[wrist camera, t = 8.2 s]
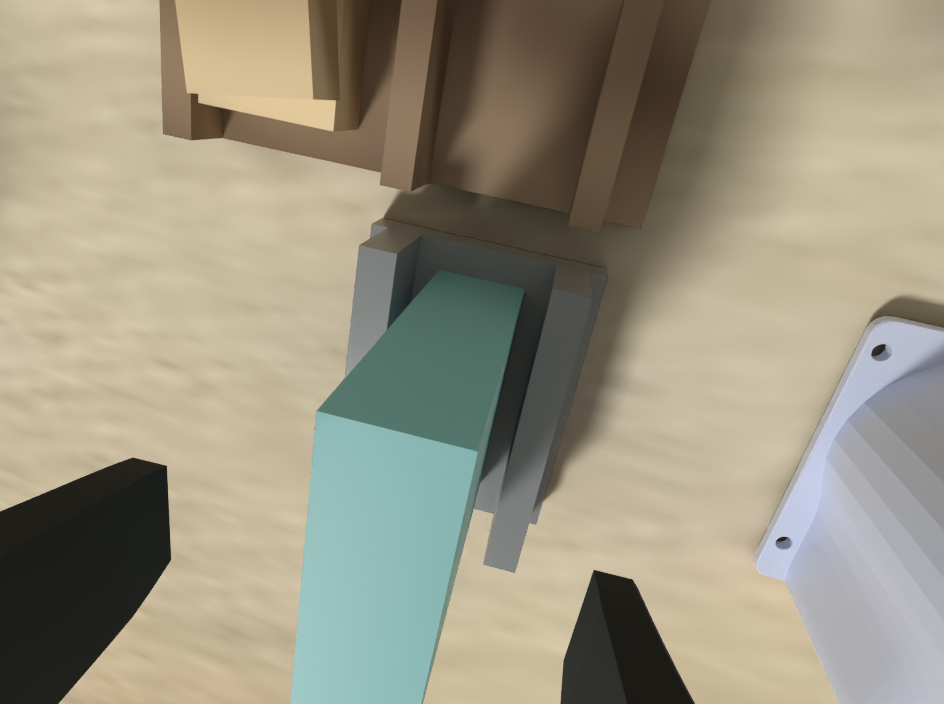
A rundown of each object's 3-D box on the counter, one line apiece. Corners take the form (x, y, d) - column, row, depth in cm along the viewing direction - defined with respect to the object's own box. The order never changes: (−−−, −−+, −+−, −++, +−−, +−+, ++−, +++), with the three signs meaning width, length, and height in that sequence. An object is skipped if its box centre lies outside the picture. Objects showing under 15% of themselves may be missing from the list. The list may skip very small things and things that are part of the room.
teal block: (480, 482, 20) (412, 741, 12) (406, 464, 20) (289, 706, 12) (525, 289, 17) (477, 451, 9) (439, 269, 17) (316, 410, 9)
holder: (537, 506, 21) (530, 577, 18) (352, 459, 22) (313, 518, 19) (606, 268, 18) (612, 303, 14) (382, 218, 18) (340, 241, 15)
